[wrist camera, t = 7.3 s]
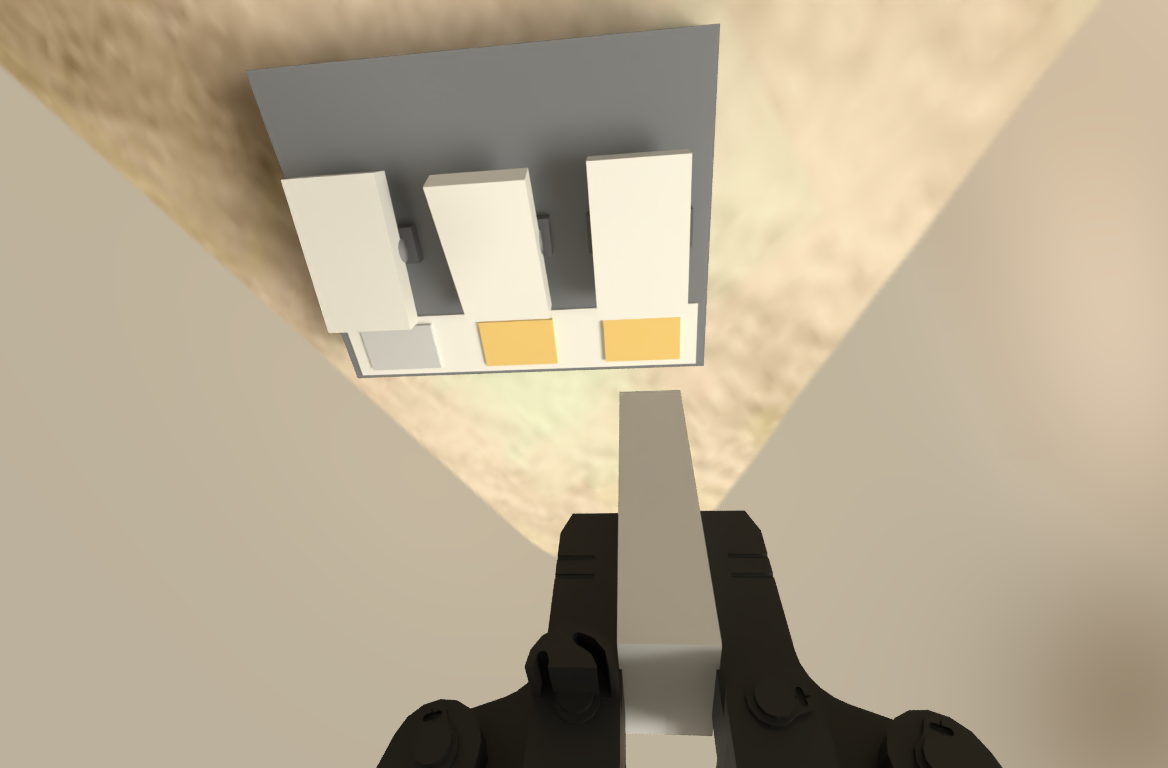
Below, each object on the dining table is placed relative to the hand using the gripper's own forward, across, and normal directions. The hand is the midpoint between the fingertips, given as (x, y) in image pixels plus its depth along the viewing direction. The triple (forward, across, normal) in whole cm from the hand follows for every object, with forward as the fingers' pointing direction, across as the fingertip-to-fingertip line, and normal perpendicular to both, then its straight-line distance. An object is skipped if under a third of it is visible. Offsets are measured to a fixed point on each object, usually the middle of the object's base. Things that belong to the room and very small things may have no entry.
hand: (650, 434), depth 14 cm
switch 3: (+11, 0, +2) cm, 11 cm away
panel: (+16, -6, +2) cm, 17 cm away
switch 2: (+11, -6, +2) cm, 12 cm away
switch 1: (+11, -12, +2) cm, 16 cm away
